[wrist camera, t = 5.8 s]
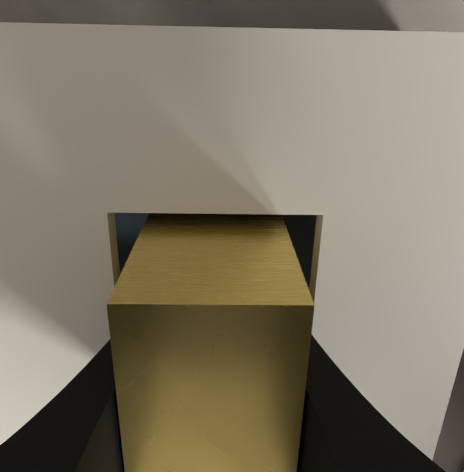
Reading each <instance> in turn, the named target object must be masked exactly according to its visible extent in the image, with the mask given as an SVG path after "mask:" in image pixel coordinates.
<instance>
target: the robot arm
mask: <svg viewBox="0 0 464 472" xmlns="http://www.w3.org/2000/svg"><path fill="white" fill-rule="evenodd" d="M0 472H125V469H124V460H123V451H122V442H121V433H120V423H119V414H118V405H117V396H116V387H115V378H114V368H113V359H112V350H111V341H110V340H109V341H108V342H107V343H106V344H105V345H104V346H103V347H102V348H101V350H100V351H99V352H98V353H97V354H96V355H95V356H94V357H93V358H92V359H91V360H90V361H89V363H88V364H87V365H86V366H85V367H84V368H83V369H82V370H81V371H80V372H79V373H78V374H77V375H76V376H75V377H74V378H73V379H72V380H71V381H70V382H69V383H68V384H67V385H66V386H65V387H64V388H63V389H62V390H61V391H60V392H59V393H58V394H57V395H56V396H55V397H54V398H53V399H52V400H51V401H50V402H49V403H47V404H46V405H45V406H44V407H43V408H42V409H41V410H40V411H39V412H38V413H37V414H36V415H35V416H34V417H32V418H31V419H30V420H29V421H28V422H27V423H26V424H25V425H23V426H22V427H21V428H20V429H19V430H18V431H17V432H15V433H14V434H13V435H12V436H11V437H9V438H8V439H7V440H6V441H5V442H3V443H2V444H1V445H0ZM297 472H445V471H444V470H443V469H442V468H440V467H439V466H438V465H437V464H435V463H434V462H433V461H432V460H431V459H430V458H428V457H427V456H426V455H425V454H424V453H423V452H422V451H420V450H419V449H418V448H417V447H416V446H415V445H413V444H412V443H411V442H410V441H409V440H408V439H406V438H405V437H404V436H403V435H402V434H401V433H400V432H399V431H398V430H397V429H396V428H395V427H394V426H393V425H391V424H390V423H389V422H388V421H387V420H386V419H385V418H384V417H383V416H382V415H381V414H380V413H379V412H378V411H377V410H376V409H375V407H374V406H373V405H372V404H371V403H370V402H369V401H368V400H367V399H366V398H365V397H364V396H363V395H362V394H361V393H360V391H359V390H358V389H357V388H356V387H355V386H354V385H353V384H352V383H351V381H350V380H349V379H348V378H347V377H346V376H345V375H344V374H343V372H342V371H341V370H340V369H339V368H338V367H337V365H336V364H335V363H334V362H333V360H332V359H331V358H330V357H329V356H328V354H327V353H326V352H325V351H324V349H323V348H322V347H321V346H320V344H319V343H318V342H317V340H316V339H315V338H314V337H313V335H312V334H311V343H310V352H309V361H308V371H307V380H306V389H305V398H304V408H303V417H302V426H301V435H300V445H299V454H298V463H297ZM463 472H464V469H463Z"/></svg>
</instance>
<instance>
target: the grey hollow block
mask: <svg viewBox="0 0 464 472" xmlns="http://www.w3.org/2000/svg"><path fill="white" fill-rule="evenodd" d="M149 213H189V214H277V215H282V217H283V220H284V223H285V225H286V228H287V231H288V234H289V236H290V239H291V242H292V245H293V247H294V250H295V253H296V256H297V258H298V261H299V264H300V267H301V270H302V272H303V275H304V278H305V281H306V283H307V286H308V289H309V292H310V294H311V297H312V300H313V303H314V305H315V306H314V315H313V324H312V335H313V337H314V338H315V339H316V340H317V342H318V343H319V344H320V346H321V347H322V348H323V349H324V351H325V352H326V353H327V354H328V356H329V357H330V358H331V359H332V360H333V362H334V363H335V364H336V365H337V367H338V368H339V369H340V370H341V371H342V372H343V374H344V375H345V376H346V377H347V378H348V379H349V380H350V381H351V383H352V384H353V385H354V386H355V387H356V388H357V389H358V390H359V391H360V393H361V394H362V395H363V396H364V397H365V398H366V399H367V400H368V401H369V402H370V403H371V404H372V405H373V406H374V407H375V409H376V410H377V411H378V412H379V413H380V414H381V415H382V416H383V417H384V418H385V419H386V420H387V421H388V422H389V423H390V424H391V425H393V426H394V427H395V428H396V429H397V430H398V431H399V432H400V433H401V434H402V435H403V436H404V437H405V438H406V439H408V440H409V441H410V442H411V443H412V444H413V445H415V446H416V447H417V448H418V449H419V450H420V451H422V452H423V453H424V454H425V455H426V456H427V457H428V458H430V459H431V460H433V457H434V453H435V450H436V446H437V442H438V439H439V435H440V432H441V428H442V424H443V421H444V417H445V414H446V410H447V406H448V403H449V399H450V396H451V392H452V388H453V385H454V381H455V378H456V374H457V370H458V367H459V363H460V360H461V356H462V352H463V349H464V32H425V31H379V30H334V29H288V28H242V27H197V26H151V25H106V24H60V23H14V22H0V445H1V444H2V443H3V442H5V441H6V440H7V439H8V438H9V437H11V436H12V435H13V434H14V433H15V432H17V431H18V430H19V429H20V428H21V427H22V426H23V425H25V424H26V423H27V422H28V421H29V420H30V419H31V418H32V417H34V416H35V415H36V414H37V413H38V412H39V411H40V410H41V409H42V408H43V407H44V406H45V405H46V404H47V403H49V402H50V401H51V400H52V399H53V398H54V397H55V396H56V395H57V394H58V393H59V392H60V391H61V390H62V389H63V388H64V387H65V386H66V385H67V384H68V383H69V382H70V381H71V380H72V379H73V378H74V377H75V376H76V375H77V374H78V373H79V372H80V371H81V370H82V369H83V368H84V367H85V366H86V365H87V364H88V363H89V361H90V360H91V359H92V358H93V357H94V356H95V355H96V354H97V353H98V352H99V351H100V350H101V348H102V347H103V346H104V345H105V344H106V343H107V342H108V341H109V340H110V332H109V323H108V314H107V302H108V300H109V298H110V296H111V293H112V291H113V289H114V287H115V285H116V283H117V281H118V278H119V276H120V274H121V272H122V270H123V268H124V266H125V263H126V261H127V259H128V257H129V255H130V253H131V251H132V249H133V246H134V244H135V242H136V240H137V238H138V236H139V234H140V231H141V229H142V227H143V225H144V223H145V221H146V219H147V217H148V214H149Z"/></svg>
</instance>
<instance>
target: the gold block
mask: <svg viewBox="0 0 464 472" xmlns="http://www.w3.org/2000/svg"><path fill="white" fill-rule="evenodd" d="M314 306H315V305H314V303H313V300H312V297H311V294H310V292H309V289H308V286H307V283H306V281H305V278H304V275H303V272H302V270H301V267H300V264H299V261H298V258H297V256H296V253H295V250H294V247H293V245H292V242H291V239H290V236H289V234H288V231H287V228H286V225H285V223H284V220H283V217H282V215H277V214H189V213H149V214H148V217H147V219H146V221H145V223H144V225H143V227H142V229H141V231H140V234H139V236H138V238H137V240H136V242H135V244H134V246H133V249H132V251H131V253H130V255H129V257H128V259H127V261H126V263H125V266H124V268H123V270H122V272H121V274H120V276H119V278H118V281H117V283H116V285H115V287H114V289H113V291H112V293H111V296H110V298H109V300H108V302H107V314H108V323H109V332H110V341H111V350H112V359H113V368H114V378H115V387H116V396H117V405H118V414H119V423H120V433H121V442H122V451H123V460H124V469H125V472H297V463H298V454H299V445H300V435H301V426H302V417H303V408H304V398H305V389H306V380H307V371H308V361H309V352H310V343H311V334H312V324H313V315H314Z"/></svg>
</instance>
